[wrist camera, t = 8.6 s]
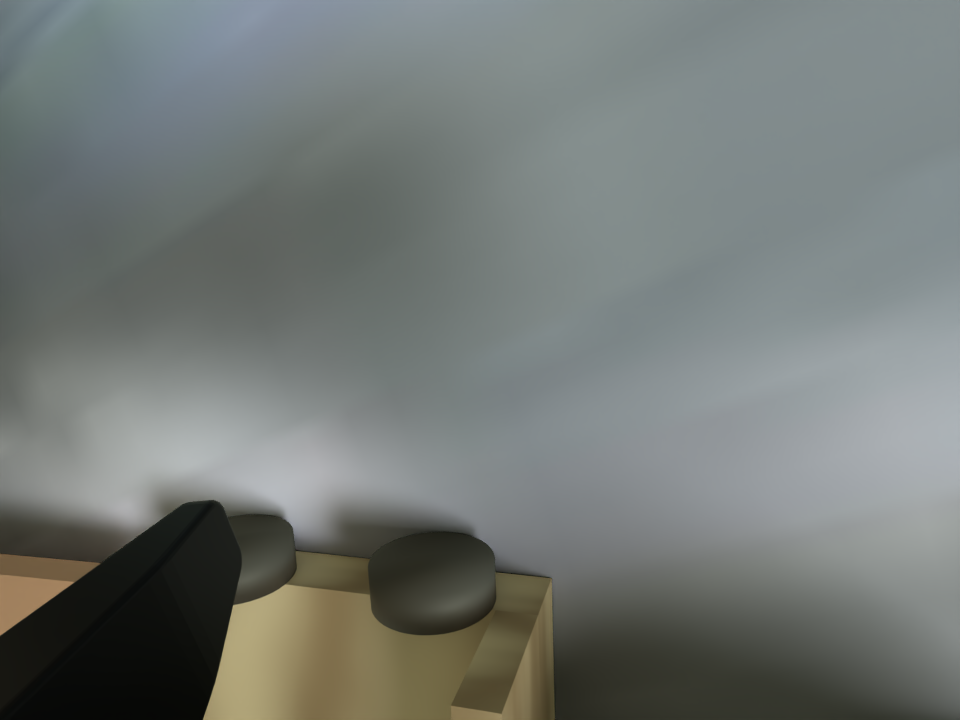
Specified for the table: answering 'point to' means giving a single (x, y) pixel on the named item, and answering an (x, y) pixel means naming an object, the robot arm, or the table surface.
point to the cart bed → (383, 633)
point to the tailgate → (33, 584)
